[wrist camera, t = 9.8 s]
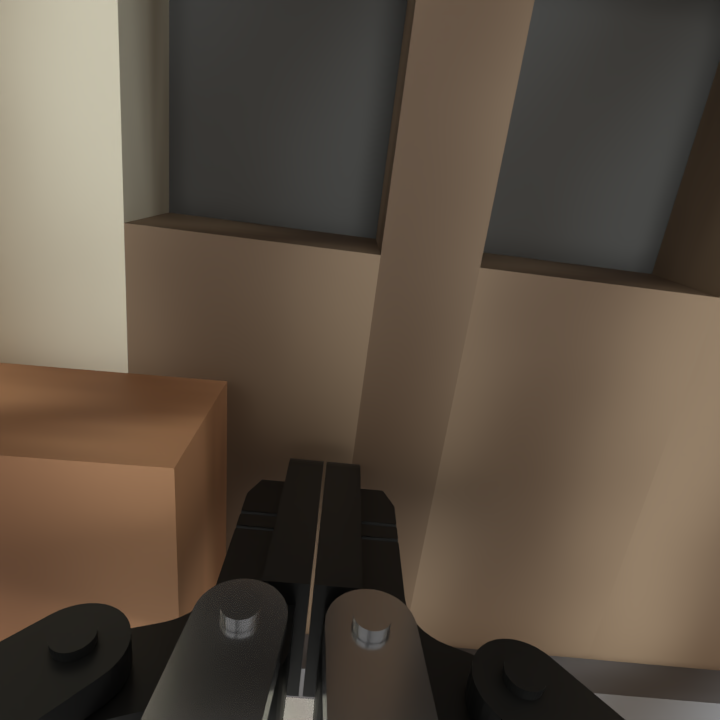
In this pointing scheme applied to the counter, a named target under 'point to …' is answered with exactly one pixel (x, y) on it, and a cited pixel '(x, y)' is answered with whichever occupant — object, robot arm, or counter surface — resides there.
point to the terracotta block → (109, 492)
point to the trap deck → (410, 284)
